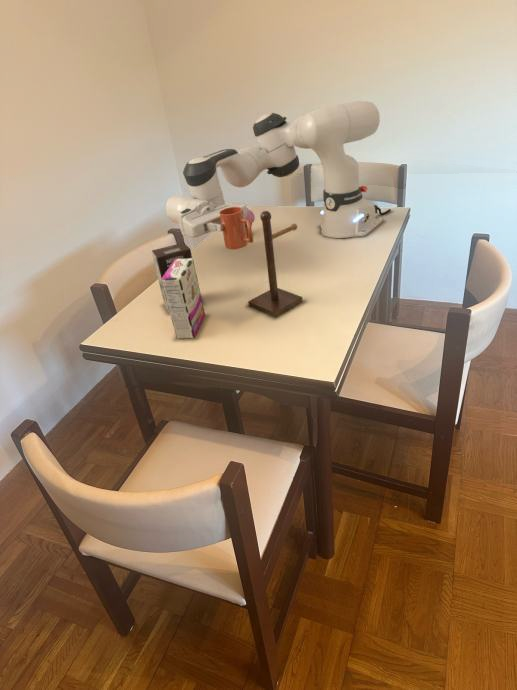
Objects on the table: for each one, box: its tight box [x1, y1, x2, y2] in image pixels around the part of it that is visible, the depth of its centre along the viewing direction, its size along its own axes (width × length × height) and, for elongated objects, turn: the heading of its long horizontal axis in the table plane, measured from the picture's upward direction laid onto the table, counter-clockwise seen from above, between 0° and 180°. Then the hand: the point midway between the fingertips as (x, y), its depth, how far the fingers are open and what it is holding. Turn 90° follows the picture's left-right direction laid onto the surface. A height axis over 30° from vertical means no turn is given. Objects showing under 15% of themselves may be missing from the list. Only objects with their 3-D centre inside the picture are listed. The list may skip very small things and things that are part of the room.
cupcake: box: [245, 207, 256, 238], centre depth 168 cm, size 9×9×10 cm
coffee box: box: [151, 242, 193, 314], centre depth 128 cm, size 9×6×16 cm
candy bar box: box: [161, 257, 207, 340], centre depth 117 cm, size 11×5×16 cm, turn 171°
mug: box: [219, 207, 254, 251], centre depth 134 cm, size 10×6×10 cm, turn 43°
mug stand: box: [247, 210, 303, 318], centre depth 121 cm, size 15×10×25 cm
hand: (232, 223), depth 135 cm, fingers closed on mug, 6 cm apart
